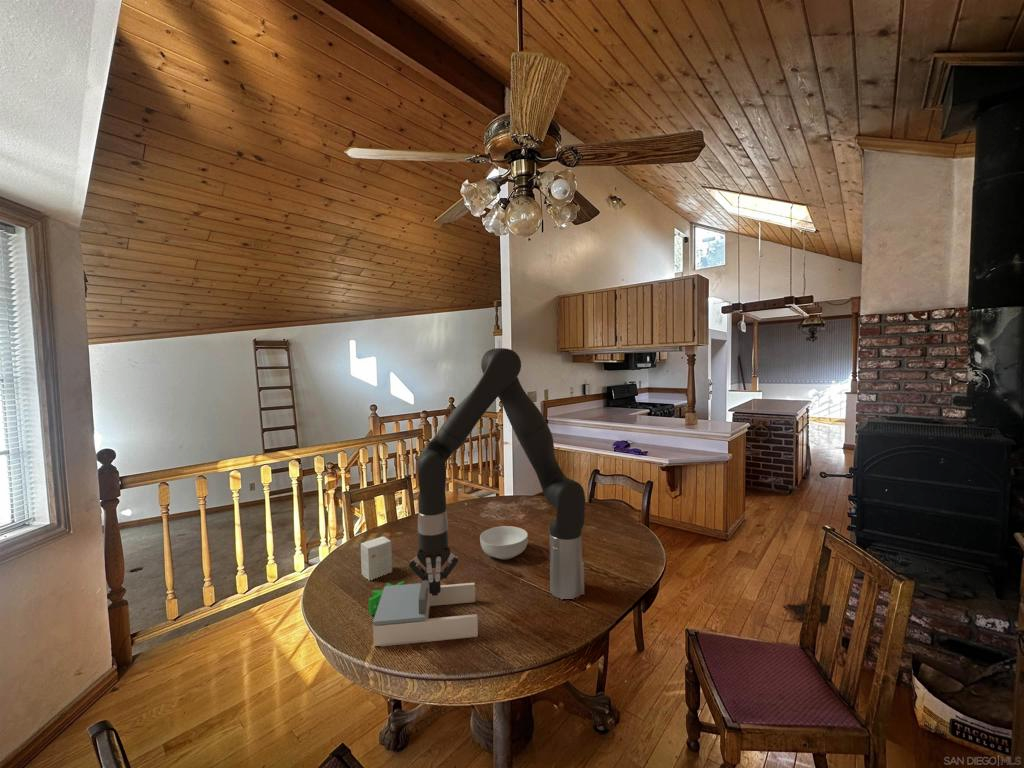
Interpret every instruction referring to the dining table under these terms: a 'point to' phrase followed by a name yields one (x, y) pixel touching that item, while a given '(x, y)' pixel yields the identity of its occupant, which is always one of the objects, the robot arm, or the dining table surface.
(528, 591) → the dining table surface
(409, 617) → the lid
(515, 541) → the cereal bowl
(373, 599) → the pipe clamp
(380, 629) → the housing
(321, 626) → the dining table surface
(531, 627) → the dining table surface
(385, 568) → the small box
